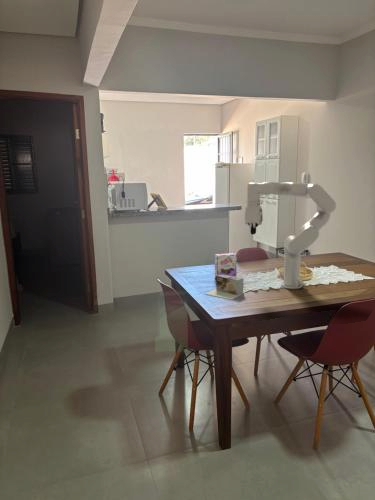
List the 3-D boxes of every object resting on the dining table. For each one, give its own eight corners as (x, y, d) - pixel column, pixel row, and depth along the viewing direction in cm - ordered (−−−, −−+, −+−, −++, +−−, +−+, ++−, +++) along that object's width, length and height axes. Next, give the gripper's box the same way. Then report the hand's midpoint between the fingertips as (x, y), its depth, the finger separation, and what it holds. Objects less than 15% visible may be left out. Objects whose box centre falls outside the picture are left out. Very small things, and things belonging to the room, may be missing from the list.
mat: (247, 291, 223) (247, 290, 223) (231, 299, 209) (231, 299, 209) (221, 286, 233) (221, 285, 233) (205, 294, 219) (205, 293, 219)
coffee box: (243, 277, 217) (222, 273, 228) (237, 280, 213) (215, 275, 224) (243, 292, 219) (222, 287, 230) (237, 295, 215) (215, 289, 226)
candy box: (216, 279, 248) (216, 255, 245) (214, 277, 254) (214, 253, 250) (236, 278, 251) (236, 254, 247) (233, 275, 256) (233, 252, 253)
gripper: (268, 203, 220) (267, 234, 224) (245, 202, 229) (245, 232, 233) (262, 204, 214) (261, 236, 218) (239, 203, 223) (239, 233, 227)
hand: (253, 233), depth 226 cm, fingers closed
